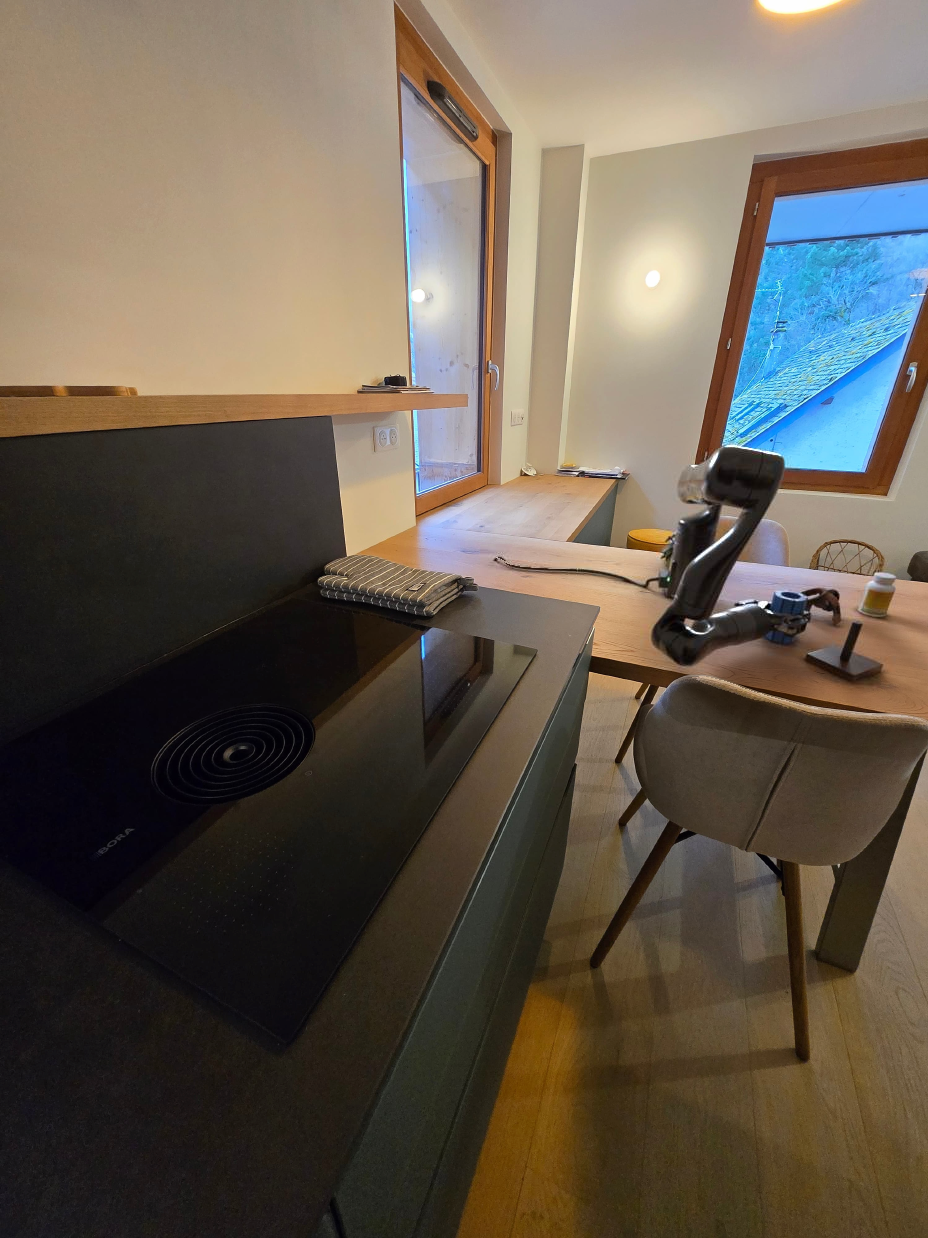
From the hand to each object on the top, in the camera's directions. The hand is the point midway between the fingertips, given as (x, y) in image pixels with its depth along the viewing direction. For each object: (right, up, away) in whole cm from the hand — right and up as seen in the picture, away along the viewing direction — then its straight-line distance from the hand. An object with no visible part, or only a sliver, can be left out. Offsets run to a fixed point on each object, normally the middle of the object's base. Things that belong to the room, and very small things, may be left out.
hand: (793, 610), depth 107 cm
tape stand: (+3, -11, -9) cm, 15 cm away
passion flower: (-5, +15, +45) cm, 48 cm away
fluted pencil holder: (-2, -6, +2) cm, 6 cm away
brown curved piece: (+13, -2, +11) cm, 17 cm away
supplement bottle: (+27, -1, +12) cm, 30 cm away
